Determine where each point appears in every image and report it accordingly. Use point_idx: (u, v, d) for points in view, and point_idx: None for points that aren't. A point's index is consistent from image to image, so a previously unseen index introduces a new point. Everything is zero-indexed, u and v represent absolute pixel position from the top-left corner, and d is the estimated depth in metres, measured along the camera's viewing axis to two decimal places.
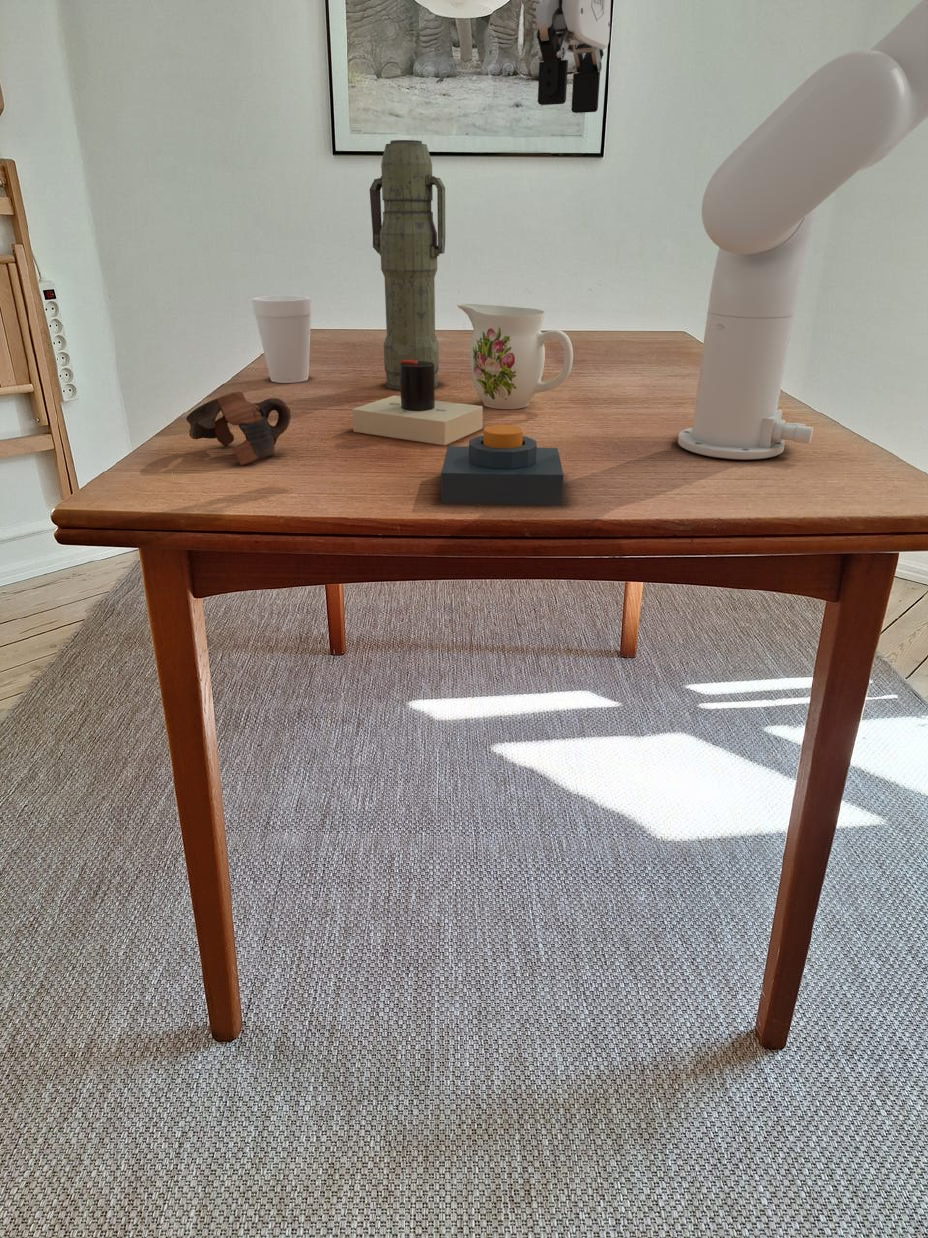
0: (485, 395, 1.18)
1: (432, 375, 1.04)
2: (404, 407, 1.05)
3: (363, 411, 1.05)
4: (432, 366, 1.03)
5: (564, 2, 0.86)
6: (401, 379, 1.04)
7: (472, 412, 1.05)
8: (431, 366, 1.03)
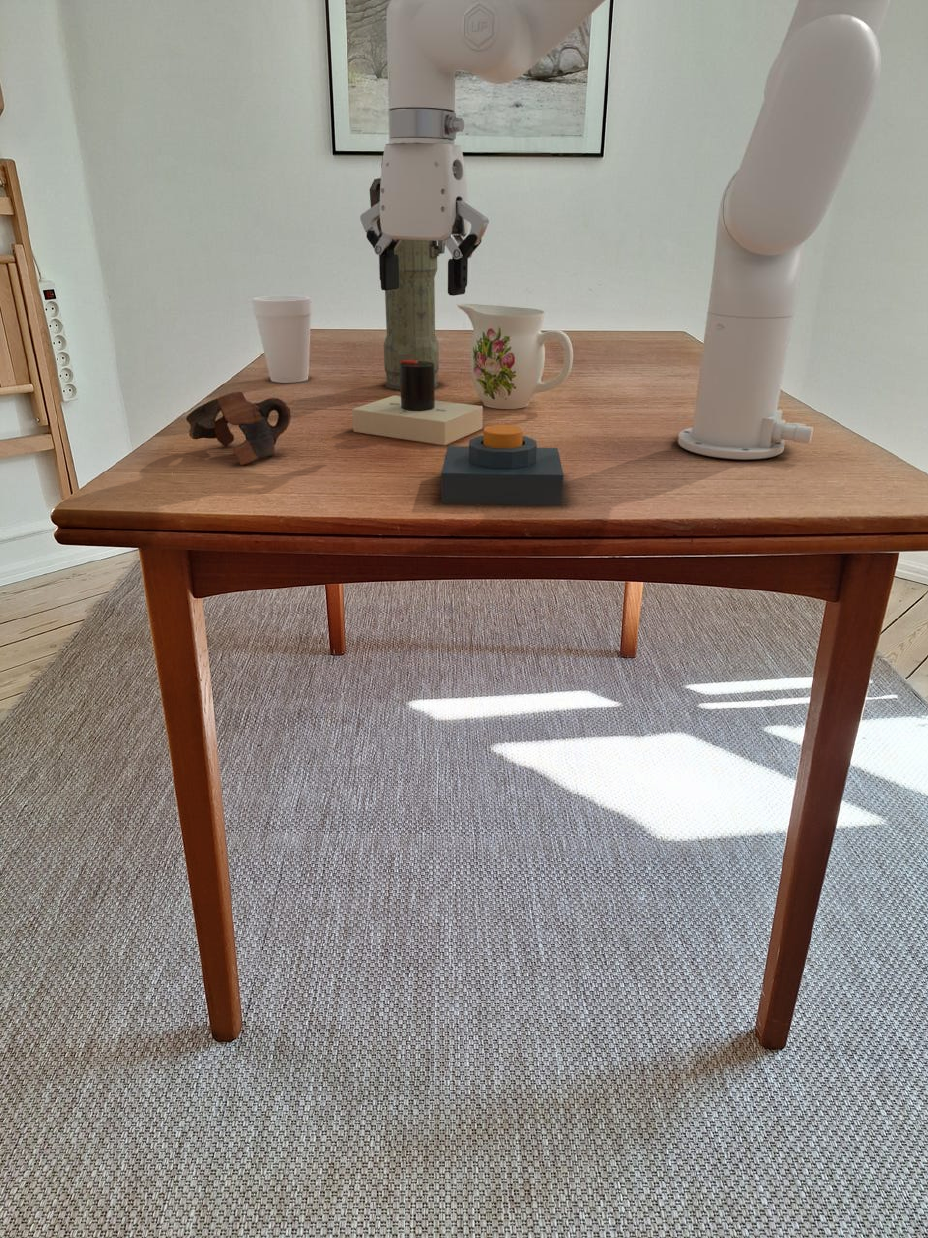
0: (485, 395, 1.18)
1: (432, 375, 1.04)
2: (404, 407, 1.05)
3: (363, 411, 1.05)
4: (432, 366, 1.03)
5: None
6: (401, 379, 1.04)
7: (472, 412, 1.05)
8: (431, 366, 1.03)
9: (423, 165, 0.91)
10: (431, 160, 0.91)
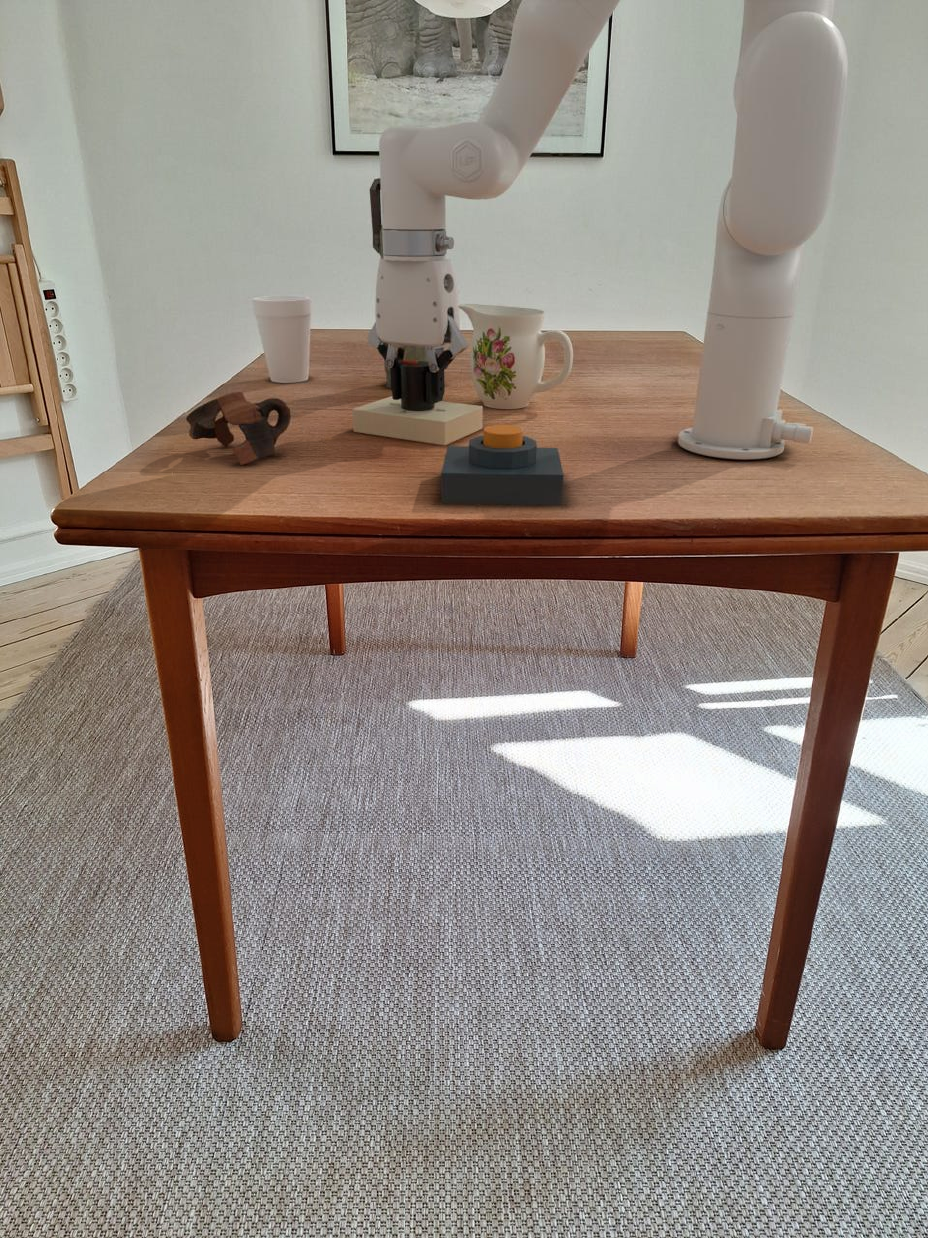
0: (485, 395, 1.18)
1: None
2: (404, 407, 1.05)
3: (363, 411, 1.05)
4: None
5: (455, 319, 1.00)
6: (401, 379, 1.04)
7: (472, 412, 1.05)
8: None
9: (416, 280, 0.97)
10: (423, 276, 0.96)
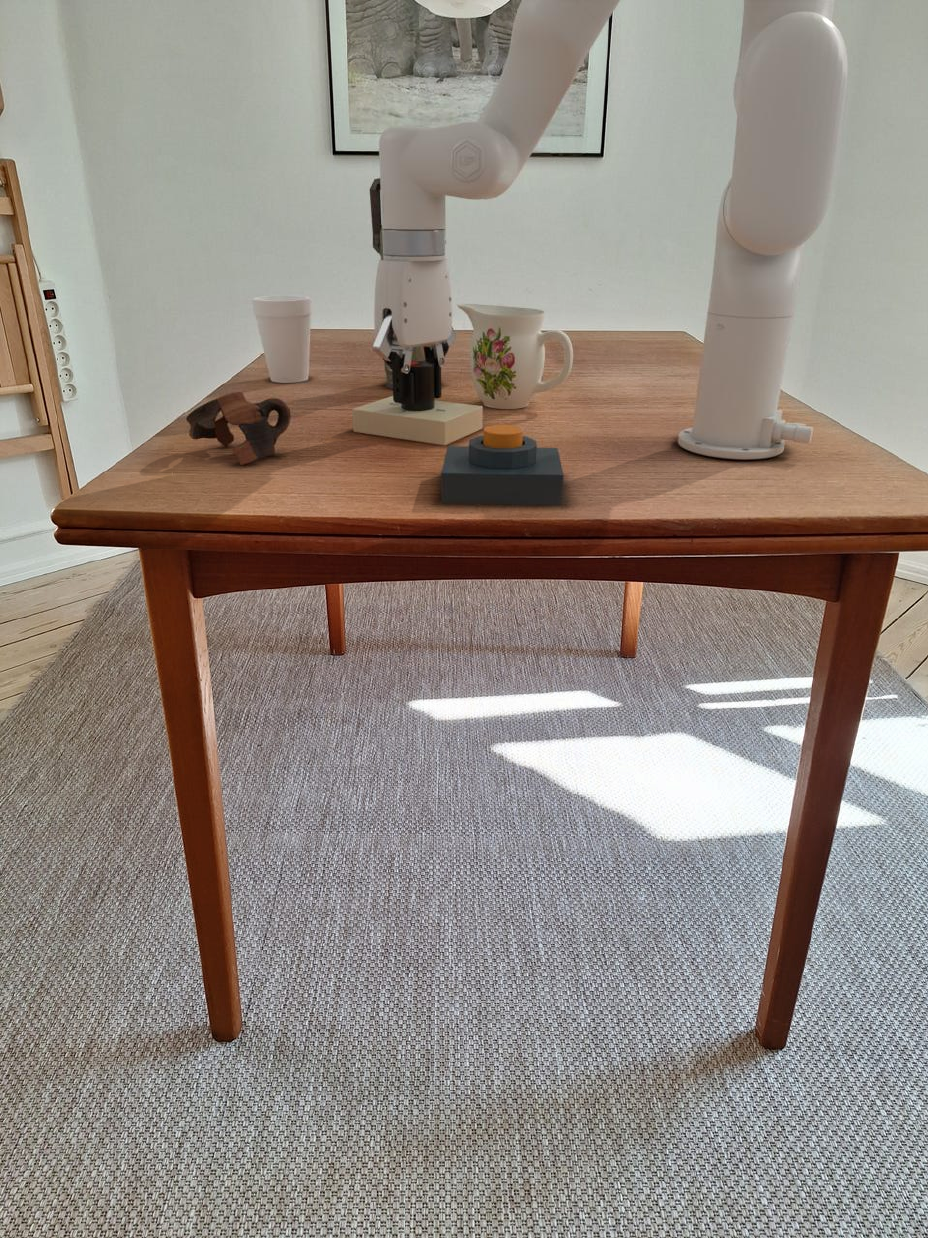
0: (485, 395, 1.18)
1: None
2: (425, 408, 1.05)
3: (363, 411, 1.05)
4: None
5: None
6: (420, 381, 1.03)
7: (472, 412, 1.05)
8: None
9: (439, 278, 0.99)
10: (443, 273, 1.00)
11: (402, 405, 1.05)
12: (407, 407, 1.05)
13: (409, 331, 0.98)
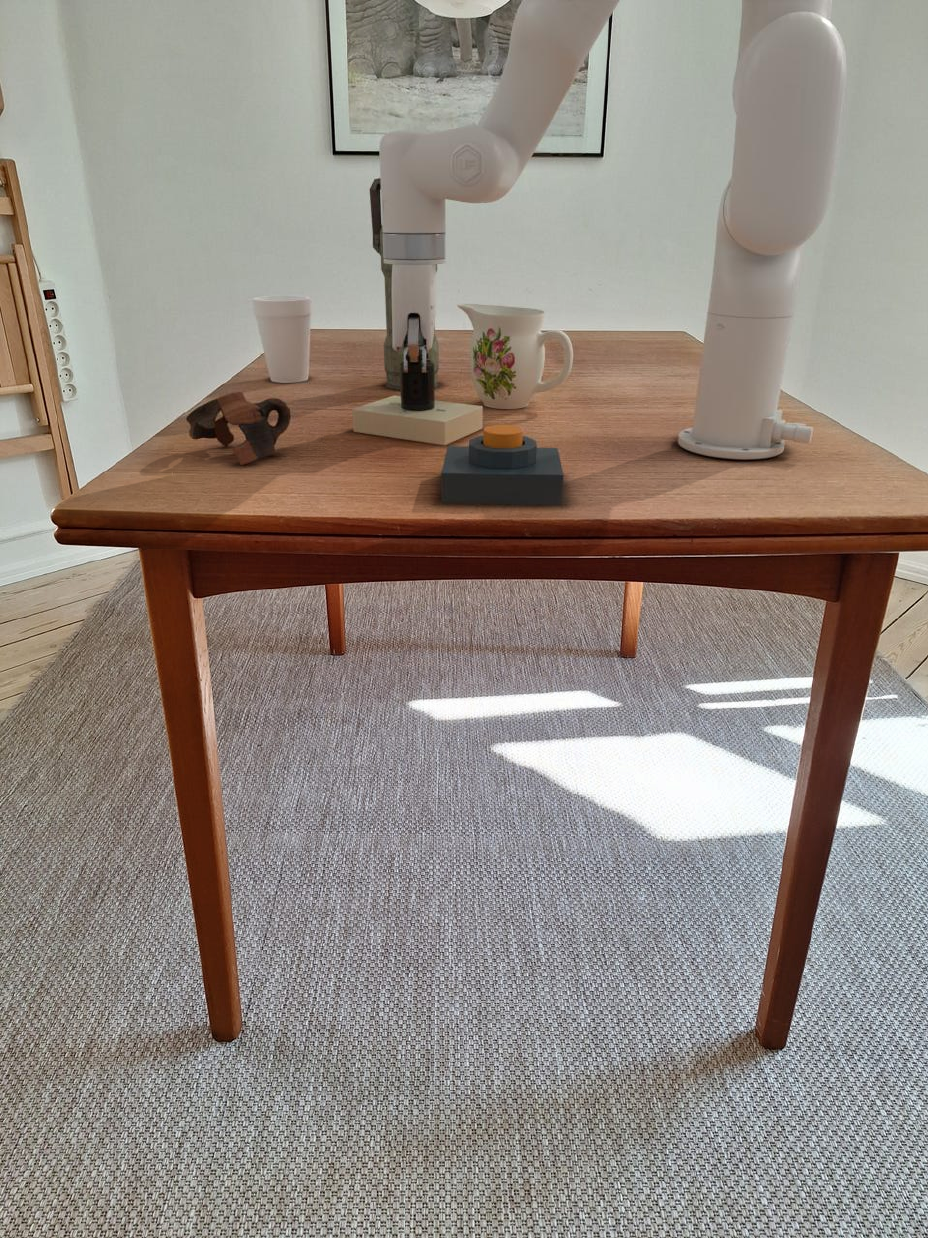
0: (485, 395, 1.18)
1: None
2: (433, 406, 1.06)
3: (363, 411, 1.05)
4: None
5: None
6: (430, 380, 1.04)
7: (472, 412, 1.05)
8: None
9: None
10: None
11: (410, 407, 1.04)
12: (418, 408, 1.04)
13: (432, 334, 0.99)
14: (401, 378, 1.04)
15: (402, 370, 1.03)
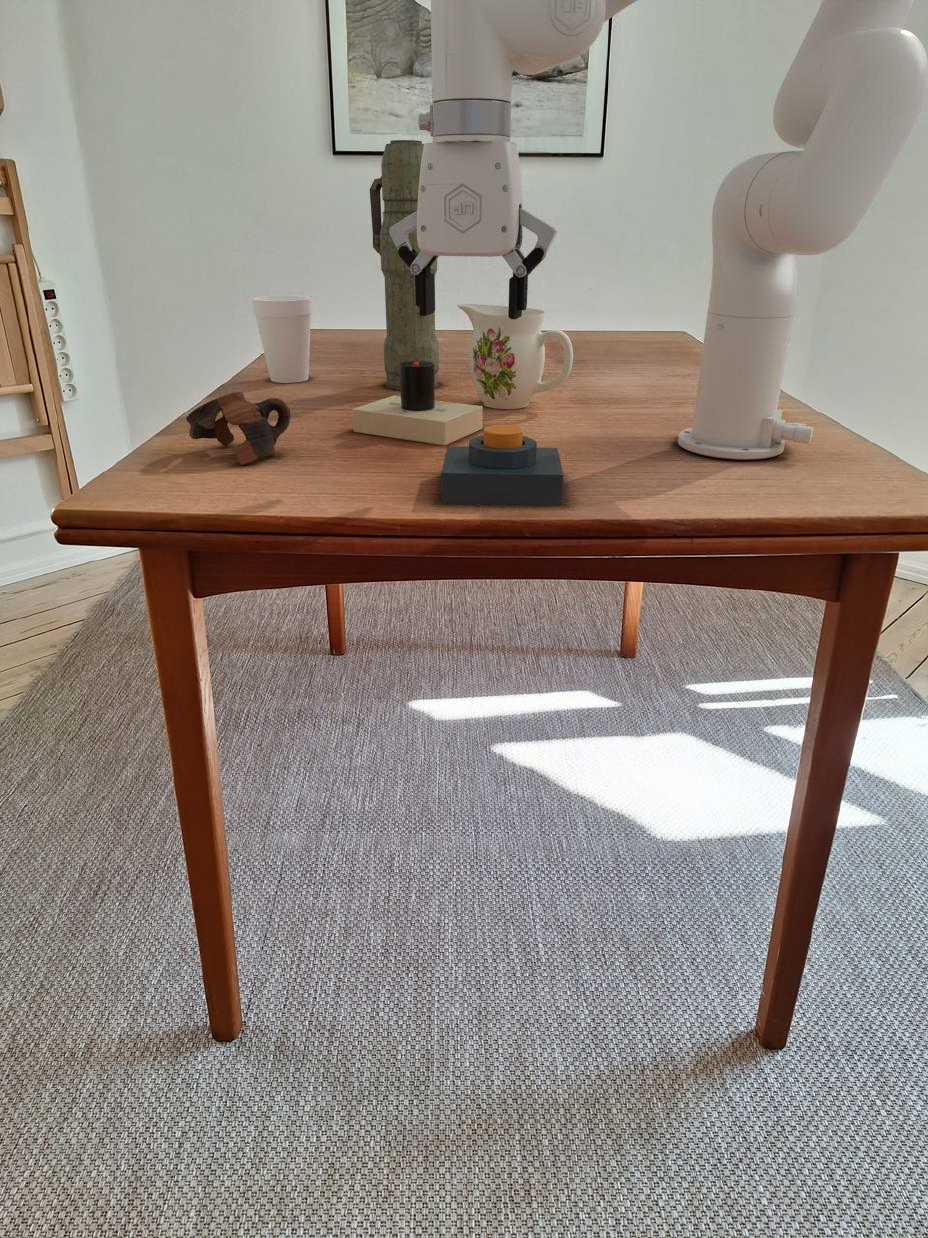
0: (485, 395, 1.18)
1: None
2: (433, 406, 1.06)
3: (363, 411, 1.05)
4: (415, 362, 1.06)
5: None
6: (430, 380, 1.04)
7: (472, 412, 1.05)
8: (417, 362, 1.06)
9: None
10: None
11: (410, 407, 1.04)
12: (418, 408, 1.04)
13: None
14: (401, 378, 1.04)
15: (402, 370, 1.03)
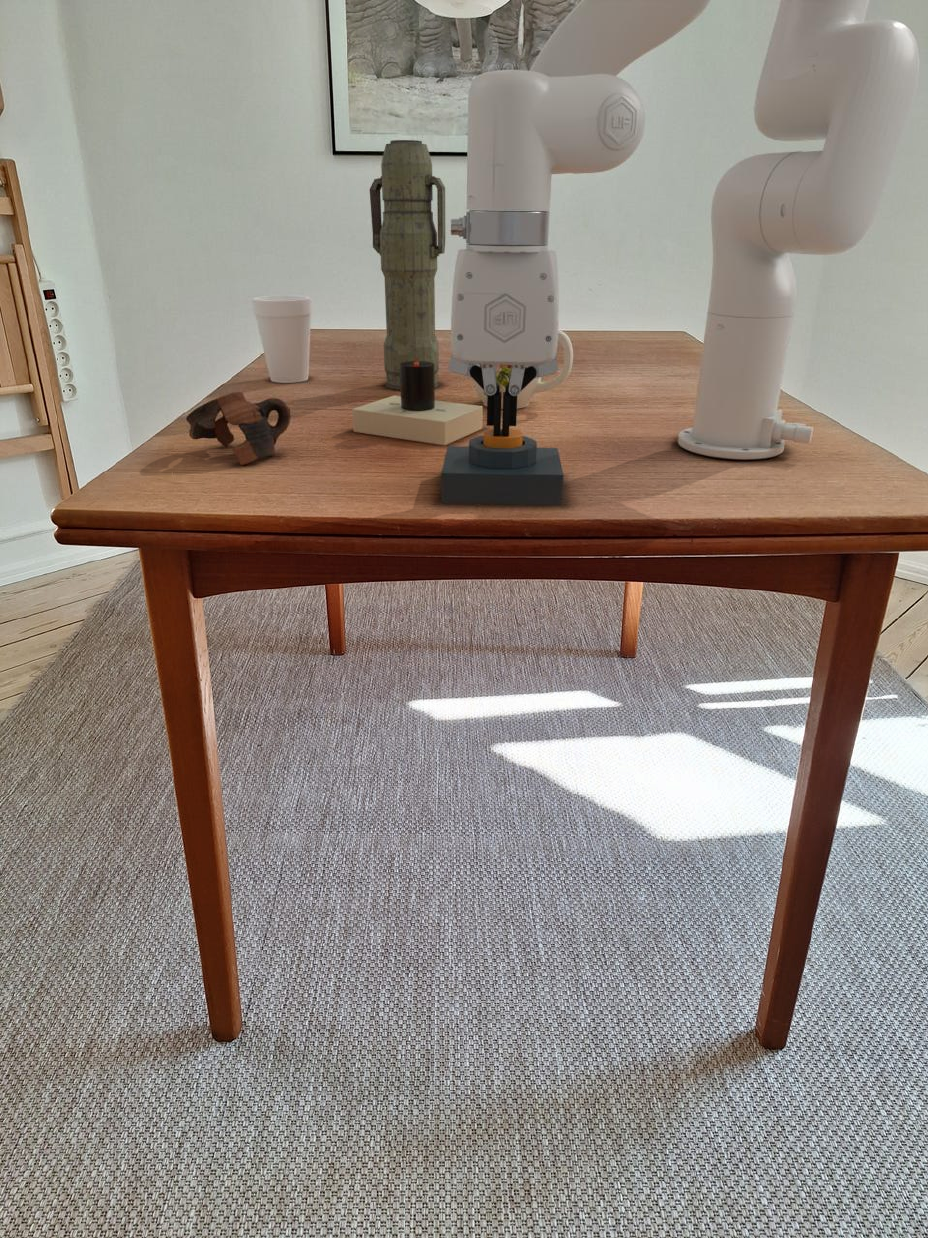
0: (485, 395, 1.18)
1: None
2: (433, 406, 1.06)
3: (363, 411, 1.05)
4: (415, 362, 1.06)
5: None
6: (430, 380, 1.04)
7: (472, 412, 1.05)
8: (417, 362, 1.06)
9: None
10: None
11: (410, 407, 1.04)
12: (418, 408, 1.04)
13: None
14: (401, 378, 1.04)
15: (402, 370, 1.03)
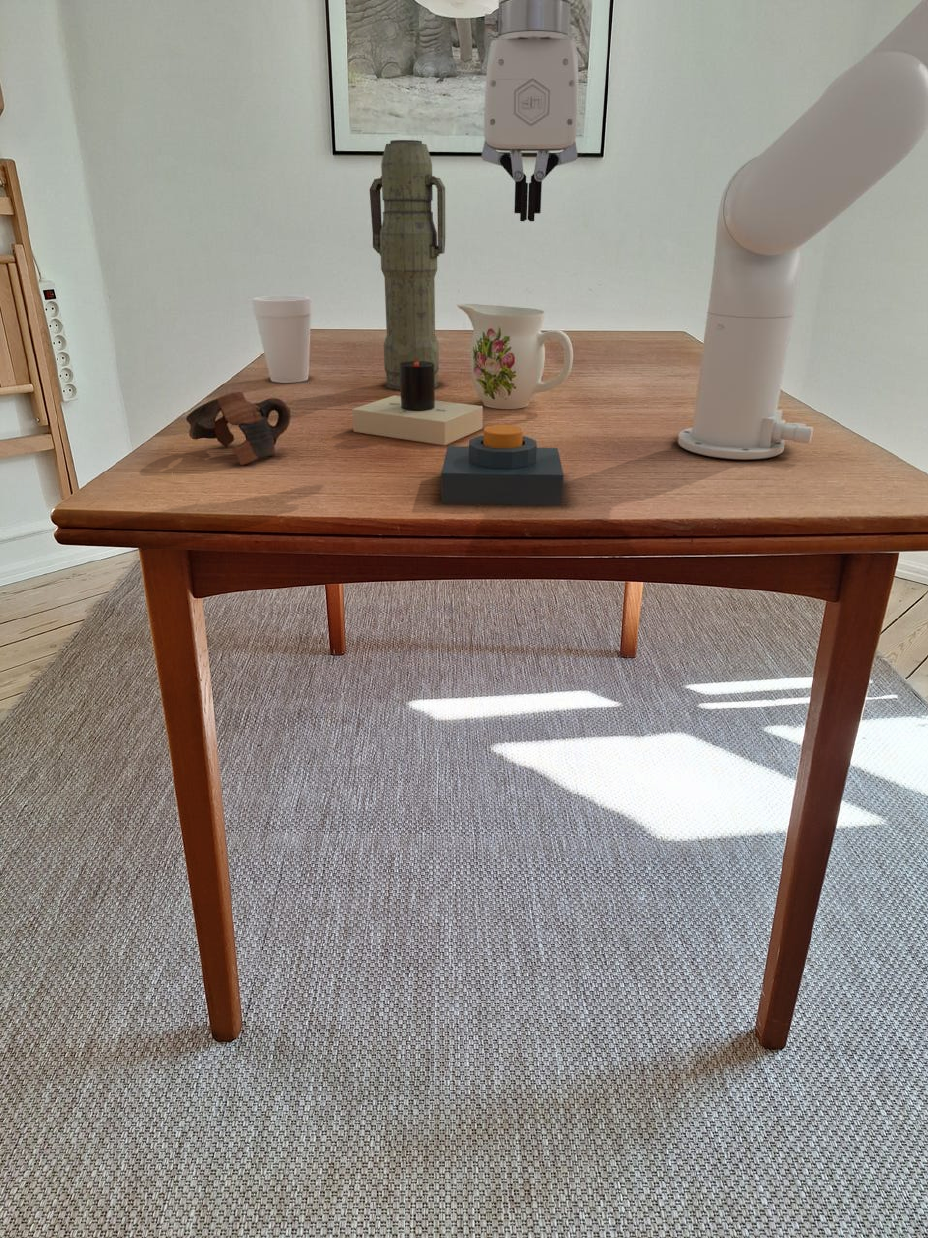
0: (485, 395, 1.18)
1: None
2: (433, 406, 1.06)
3: (363, 411, 1.05)
4: (415, 362, 1.06)
5: None
6: (430, 380, 1.04)
7: (472, 412, 1.05)
8: (417, 362, 1.06)
9: None
10: None
11: (410, 407, 1.04)
12: (418, 408, 1.04)
13: None
14: (401, 378, 1.04)
15: (402, 370, 1.03)
